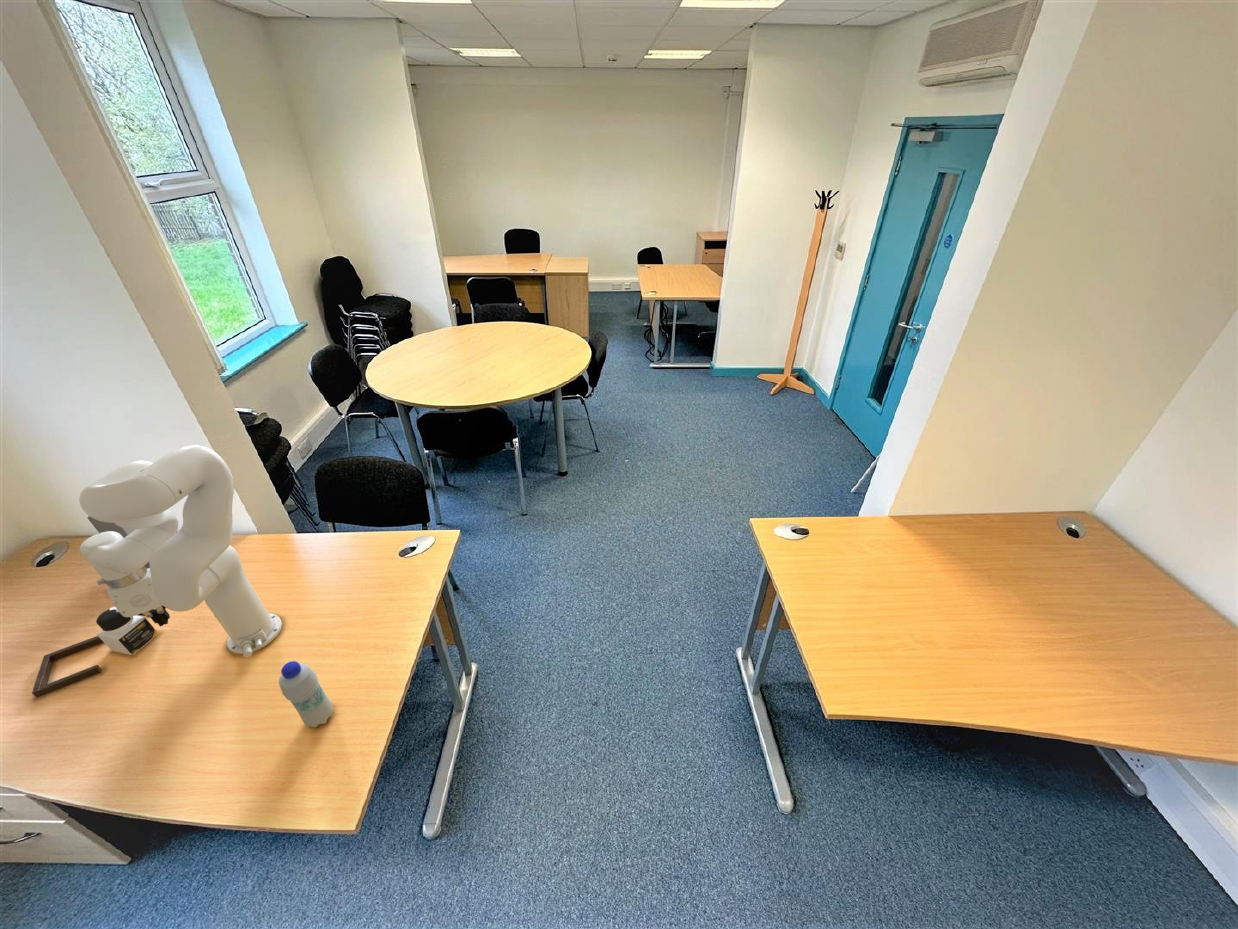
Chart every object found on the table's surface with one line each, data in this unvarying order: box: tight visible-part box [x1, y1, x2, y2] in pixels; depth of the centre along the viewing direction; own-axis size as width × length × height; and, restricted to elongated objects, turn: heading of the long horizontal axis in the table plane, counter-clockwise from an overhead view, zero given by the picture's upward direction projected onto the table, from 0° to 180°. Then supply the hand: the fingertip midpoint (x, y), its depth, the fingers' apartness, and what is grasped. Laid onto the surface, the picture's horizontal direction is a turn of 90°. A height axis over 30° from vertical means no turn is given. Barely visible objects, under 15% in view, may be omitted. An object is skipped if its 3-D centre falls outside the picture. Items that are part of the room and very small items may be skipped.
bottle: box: [278, 660, 334, 728], centre depth 108 cm, size 7×7×20 cm
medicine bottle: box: [95, 606, 159, 656], centre depth 128 cm, size 7×7×12 cm
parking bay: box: [31, 635, 104, 699], centre depth 124 cm, size 13×12×2 cm
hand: (164, 621), depth 133 cm, fingers closed
